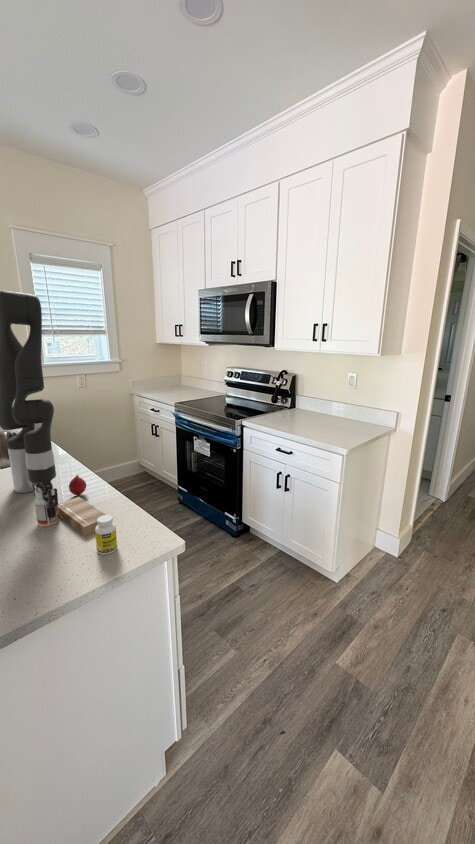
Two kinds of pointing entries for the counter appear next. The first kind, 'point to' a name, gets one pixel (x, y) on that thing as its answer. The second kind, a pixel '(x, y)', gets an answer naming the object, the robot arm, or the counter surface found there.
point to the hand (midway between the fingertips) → (47, 513)
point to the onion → (77, 486)
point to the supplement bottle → (105, 535)
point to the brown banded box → (80, 515)
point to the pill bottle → (44, 511)
